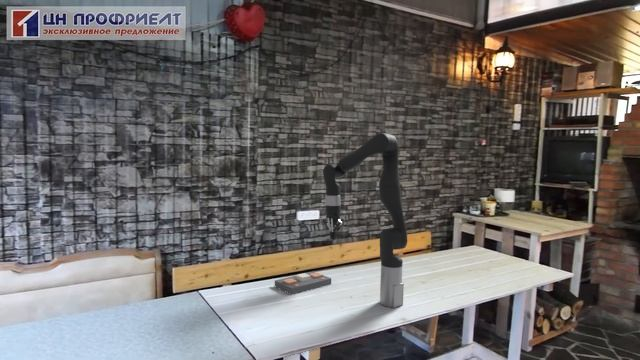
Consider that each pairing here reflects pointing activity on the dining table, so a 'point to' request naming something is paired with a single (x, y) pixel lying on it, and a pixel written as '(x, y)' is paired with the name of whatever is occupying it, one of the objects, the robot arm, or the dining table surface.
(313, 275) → the key right
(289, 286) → the keypad
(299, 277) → the key middle
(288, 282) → the key left
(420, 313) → the dining table surface
